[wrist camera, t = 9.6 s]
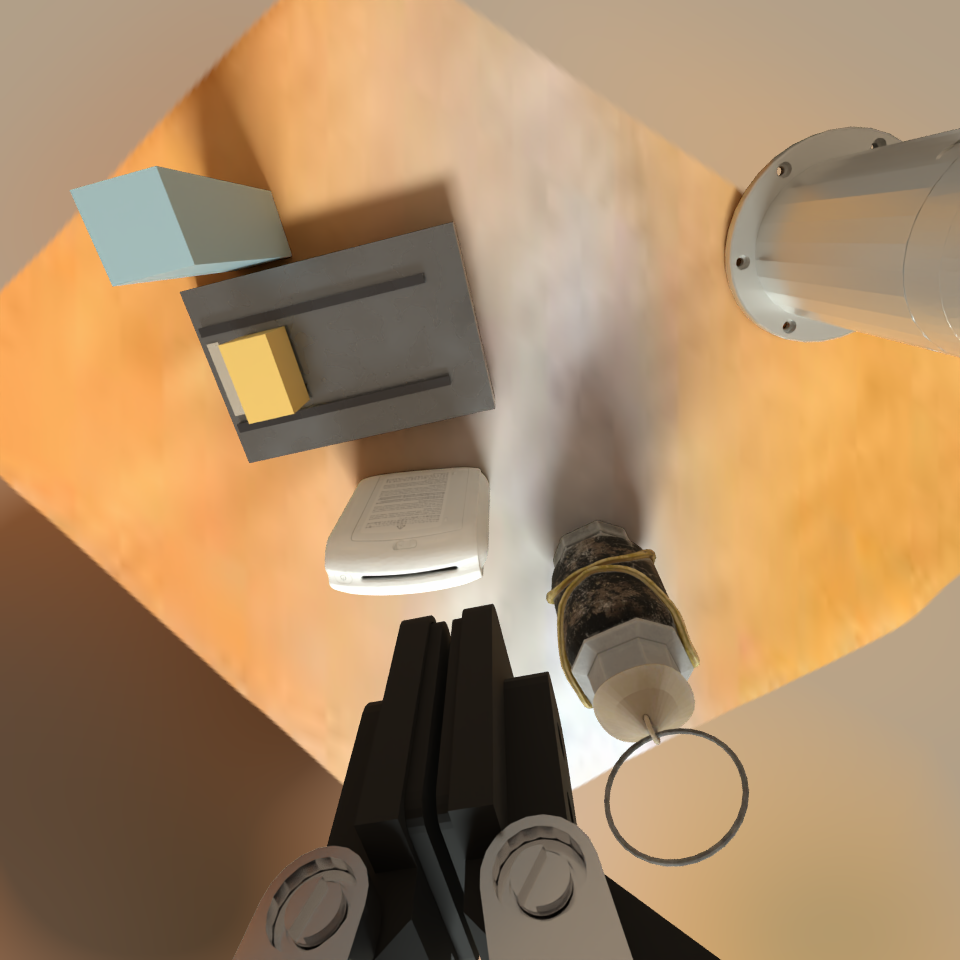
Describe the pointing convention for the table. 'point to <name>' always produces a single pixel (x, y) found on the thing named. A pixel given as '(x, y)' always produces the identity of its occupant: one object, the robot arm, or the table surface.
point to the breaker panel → (355, 340)
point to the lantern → (626, 650)
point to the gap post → (178, 225)
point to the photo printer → (411, 533)
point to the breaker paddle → (265, 374)
